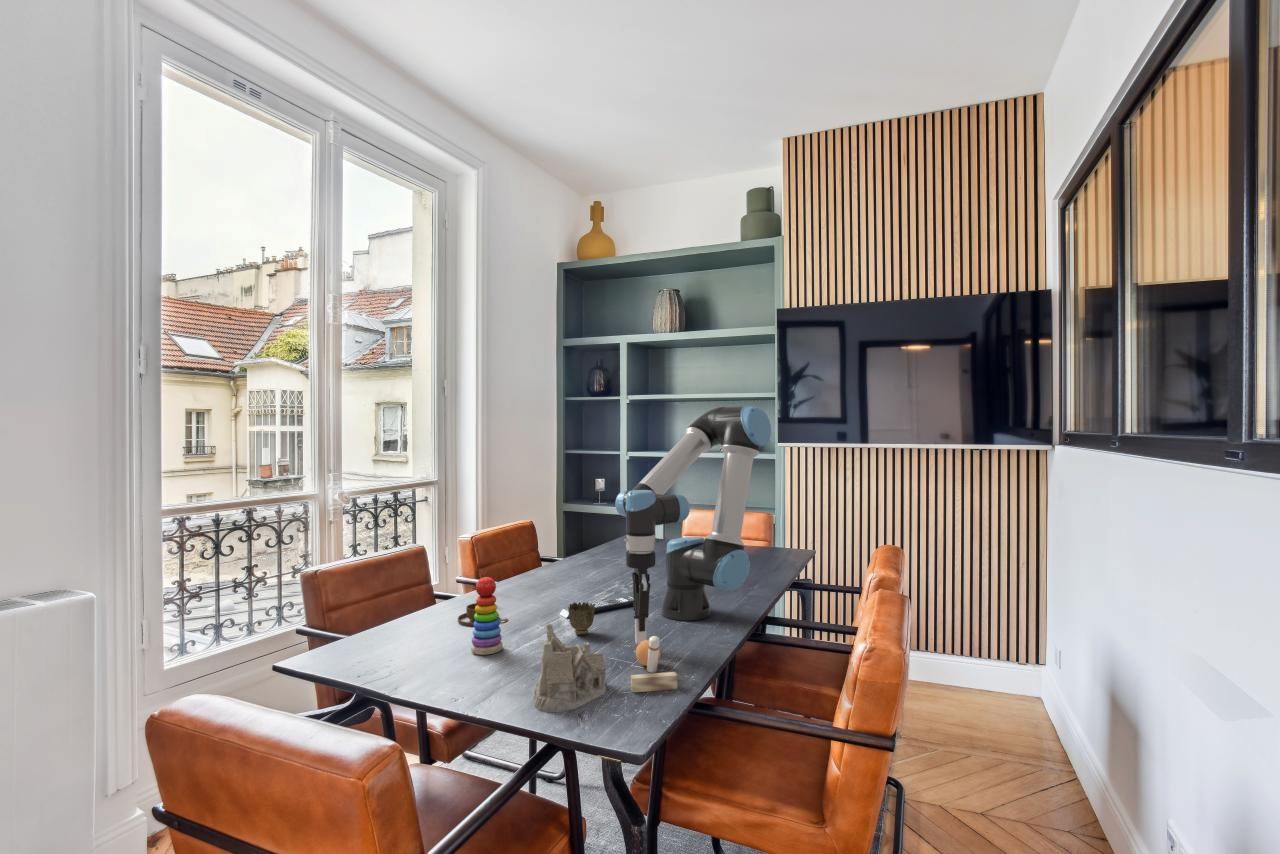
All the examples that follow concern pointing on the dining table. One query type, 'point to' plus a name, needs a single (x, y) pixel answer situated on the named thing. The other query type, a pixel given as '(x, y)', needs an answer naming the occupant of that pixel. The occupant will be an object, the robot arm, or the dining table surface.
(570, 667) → the ceramic cottage
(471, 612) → the place setting
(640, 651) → the ball
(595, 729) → the dining table surface
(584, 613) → the cup
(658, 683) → the stopper rail
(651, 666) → the pin
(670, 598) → the robot arm
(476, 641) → the stacking toy
